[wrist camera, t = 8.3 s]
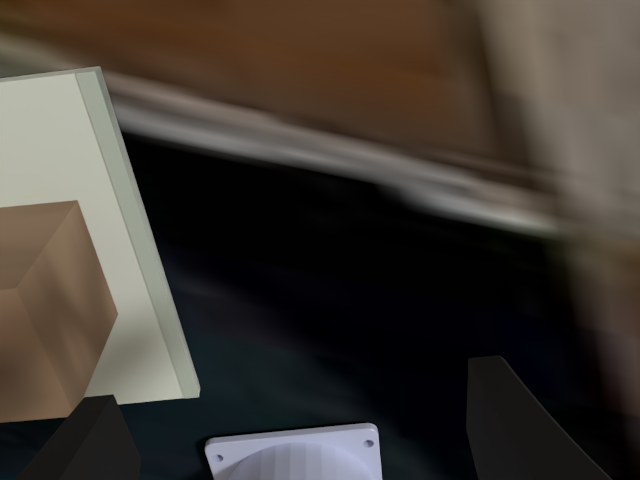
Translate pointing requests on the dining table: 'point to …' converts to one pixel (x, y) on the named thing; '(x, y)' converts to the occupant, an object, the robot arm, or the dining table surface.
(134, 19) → the dining table surface
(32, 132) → the cream tray
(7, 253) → the walnut cube
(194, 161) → the dining table surface
